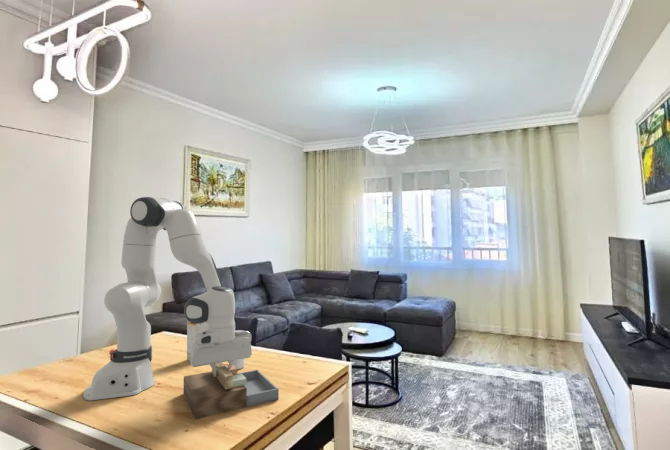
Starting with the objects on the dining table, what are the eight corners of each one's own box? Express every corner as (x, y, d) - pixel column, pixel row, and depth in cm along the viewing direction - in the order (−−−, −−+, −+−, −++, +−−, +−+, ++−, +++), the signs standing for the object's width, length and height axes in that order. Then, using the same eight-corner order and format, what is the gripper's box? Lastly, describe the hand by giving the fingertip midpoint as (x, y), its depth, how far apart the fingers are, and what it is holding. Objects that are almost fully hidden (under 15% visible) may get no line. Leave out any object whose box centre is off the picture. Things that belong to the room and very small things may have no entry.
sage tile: (231, 387, 120) (231, 381, 120) (227, 382, 124) (227, 376, 124) (246, 384, 122) (246, 378, 123) (242, 379, 127) (242, 373, 127)
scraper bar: (225, 389, 117) (225, 376, 117) (211, 370, 134) (212, 359, 134) (233, 387, 118) (233, 375, 118) (218, 369, 135) (218, 358, 136)
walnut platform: (194, 419, 111) (194, 399, 111) (183, 393, 130) (183, 376, 130) (246, 407, 119) (246, 388, 120) (229, 384, 138) (229, 368, 139)
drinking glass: (236, 371, 152) (236, 334, 153) (226, 368, 156) (226, 332, 157) (249, 367, 158) (249, 331, 158) (239, 363, 162) (239, 329, 162)
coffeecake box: (215, 352, 179) (215, 311, 180) (223, 355, 175) (223, 313, 176) (186, 360, 168) (186, 316, 169) (194, 363, 163) (194, 318, 164)
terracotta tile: (223, 377, 130) (223, 371, 130) (219, 372, 134) (219, 367, 134) (237, 374, 132) (237, 368, 132) (233, 370, 136) (233, 364, 137)
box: (246, 407, 119) (246, 395, 119) (229, 384, 138) (229, 375, 138) (278, 399, 125) (278, 388, 125) (257, 378, 144) (257, 369, 144)
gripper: (248, 328, 135) (248, 366, 134) (189, 336, 125) (189, 377, 124) (254, 331, 129) (254, 371, 129) (192, 340, 119) (192, 383, 118)
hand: (221, 374), depth 126 cm, fingers closed on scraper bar, 2 cm apart
